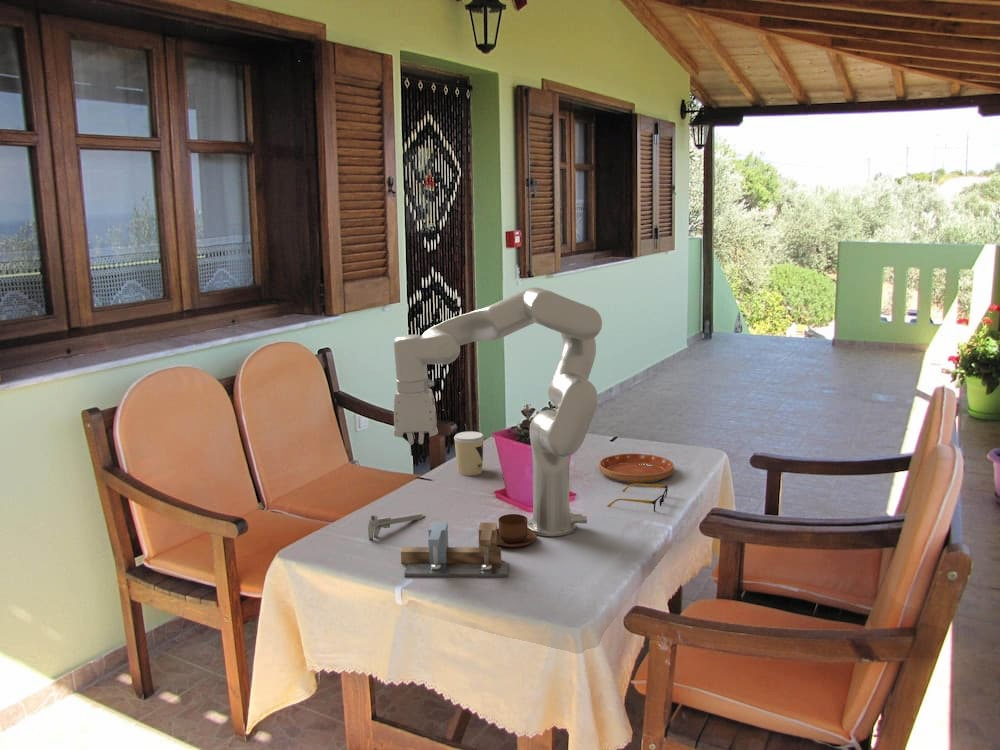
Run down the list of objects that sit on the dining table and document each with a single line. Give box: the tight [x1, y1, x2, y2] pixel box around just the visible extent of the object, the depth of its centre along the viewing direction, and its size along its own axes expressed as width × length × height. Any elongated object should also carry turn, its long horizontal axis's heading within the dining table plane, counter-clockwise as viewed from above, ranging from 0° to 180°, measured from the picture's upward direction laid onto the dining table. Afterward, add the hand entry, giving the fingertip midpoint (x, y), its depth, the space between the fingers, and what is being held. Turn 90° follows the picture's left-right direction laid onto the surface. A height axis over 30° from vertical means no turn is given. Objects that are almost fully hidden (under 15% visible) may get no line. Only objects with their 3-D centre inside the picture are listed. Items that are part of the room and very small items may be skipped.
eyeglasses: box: [606, 483, 669, 512], centre depth 263 cm, size 14×14×4 cm
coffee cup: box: [453, 431, 485, 477], centre depth 291 cm, size 9×9×12 cm
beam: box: [400, 522, 502, 565], centre depth 220 cm, size 24×11×9 cm, turn 87°
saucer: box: [598, 453, 675, 484], centre depth 287 cm, size 23×23×4 cm
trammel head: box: [427, 521, 449, 564], centre depth 221 cm, size 4×11×9 cm, turn 177°
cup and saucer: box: [497, 513, 538, 548], centre depth 235 cm, size 12×12×6 cm
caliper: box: [367, 512, 426, 540], centre depth 246 cm, size 21×1×6 cm, turn 142°
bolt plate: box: [403, 563, 510, 578], centre depth 218 cm, size 24×6×2 cm, turn 87°
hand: (417, 458), depth 228 cm, fingers closed
